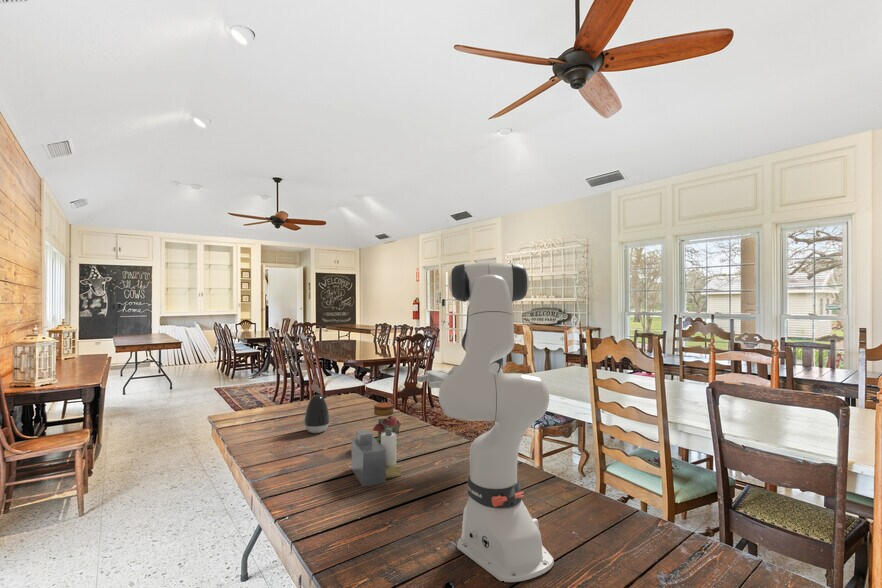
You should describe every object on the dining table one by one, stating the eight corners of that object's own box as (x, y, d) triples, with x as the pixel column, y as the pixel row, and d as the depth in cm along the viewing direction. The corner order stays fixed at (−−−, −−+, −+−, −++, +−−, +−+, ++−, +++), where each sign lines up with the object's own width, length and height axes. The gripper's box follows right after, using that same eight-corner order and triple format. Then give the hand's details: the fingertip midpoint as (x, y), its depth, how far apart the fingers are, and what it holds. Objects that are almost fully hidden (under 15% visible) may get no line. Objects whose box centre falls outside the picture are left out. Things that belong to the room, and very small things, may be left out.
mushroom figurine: (392, 451, 154) (392, 410, 154) (362, 446, 159) (362, 406, 159) (406, 440, 165) (406, 402, 165) (378, 436, 170) (378, 399, 170)
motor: (403, 478, 131) (404, 437, 131) (363, 487, 126) (363, 443, 126) (387, 460, 146) (387, 422, 146) (350, 467, 140) (350, 428, 140)
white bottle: (398, 473, 135) (398, 429, 135) (383, 476, 133) (383, 432, 133) (393, 467, 140) (393, 425, 140) (378, 470, 138) (378, 427, 137)
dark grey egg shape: (335, 430, 178) (335, 394, 178) (315, 437, 169) (316, 399, 169) (318, 425, 183) (318, 390, 183) (298, 432, 174) (299, 395, 174)
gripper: (446, 365, 157) (411, 367, 151) (474, 374, 139) (436, 378, 133) (446, 381, 157) (411, 385, 151) (474, 393, 139) (436, 398, 133)
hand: (423, 382), depth 142 cm, fingers open, 8 cm apart
